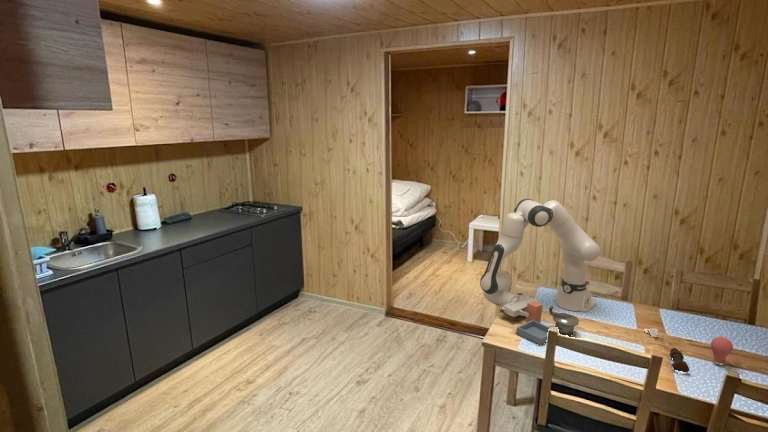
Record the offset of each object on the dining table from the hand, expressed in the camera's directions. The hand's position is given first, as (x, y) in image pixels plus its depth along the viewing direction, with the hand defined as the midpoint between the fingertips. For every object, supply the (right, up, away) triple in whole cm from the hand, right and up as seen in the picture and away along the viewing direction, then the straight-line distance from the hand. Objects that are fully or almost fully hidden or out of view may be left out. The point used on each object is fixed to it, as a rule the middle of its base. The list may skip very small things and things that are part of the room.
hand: (535, 312), depth 201 cm
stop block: (-1, -5, +2) cm, 6 cm away
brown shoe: (+48, -15, -30) cm, 58 cm away
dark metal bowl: (+10, -7, -6) cm, 14 cm away
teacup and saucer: (+54, -9, -7) cm, 55 cm away
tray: (-4, -8, -11) cm, 14 cm away
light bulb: (+65, -15, -30) cm, 73 cm away
